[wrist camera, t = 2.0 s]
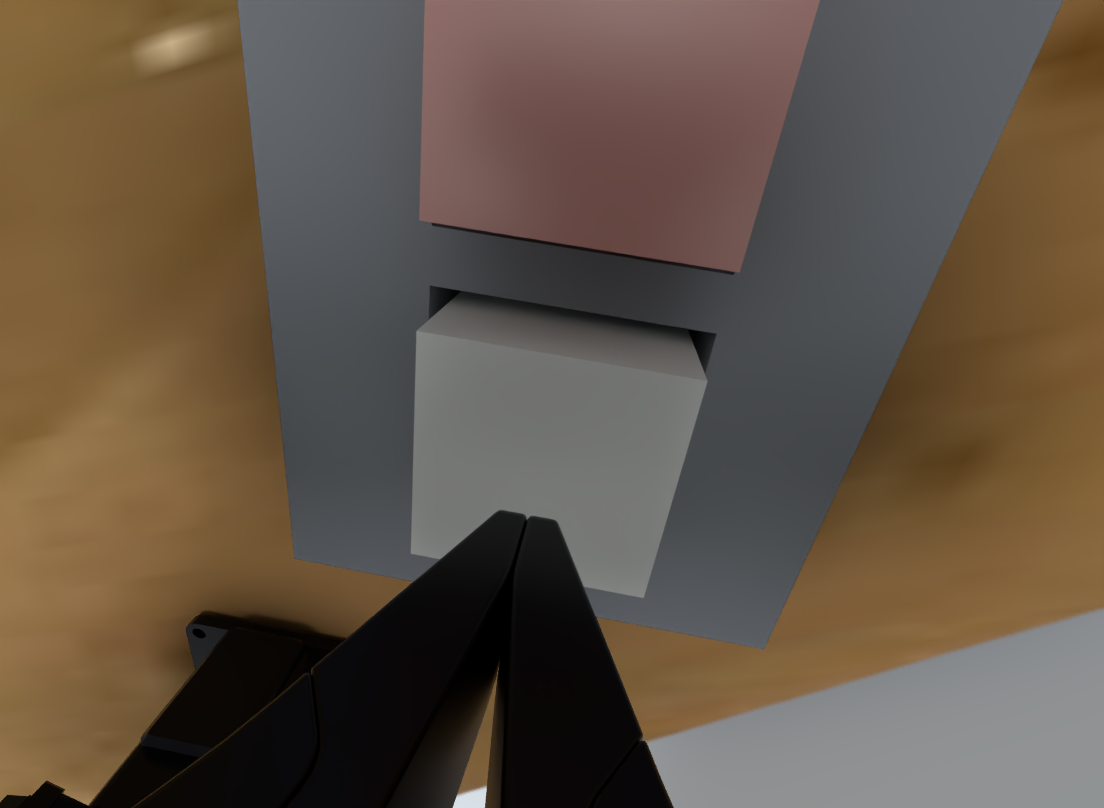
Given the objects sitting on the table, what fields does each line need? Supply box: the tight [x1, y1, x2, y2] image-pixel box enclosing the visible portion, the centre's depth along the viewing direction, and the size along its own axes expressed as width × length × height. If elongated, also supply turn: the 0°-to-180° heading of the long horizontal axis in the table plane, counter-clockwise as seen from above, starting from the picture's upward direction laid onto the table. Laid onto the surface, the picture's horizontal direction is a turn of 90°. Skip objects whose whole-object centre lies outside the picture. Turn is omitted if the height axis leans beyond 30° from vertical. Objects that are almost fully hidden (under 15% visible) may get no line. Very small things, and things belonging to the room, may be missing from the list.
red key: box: [419, 0, 820, 273], centre depth 8 cm, size 4×4×3 cm
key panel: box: [238, 0, 1063, 649], centre depth 9 cm, size 21×11×4 cm, turn 172°
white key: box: [411, 291, 708, 598], centre depth 10 cm, size 4×4×3 cm
